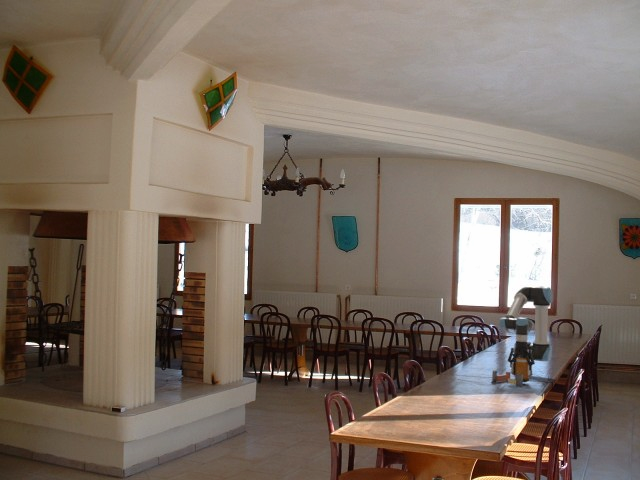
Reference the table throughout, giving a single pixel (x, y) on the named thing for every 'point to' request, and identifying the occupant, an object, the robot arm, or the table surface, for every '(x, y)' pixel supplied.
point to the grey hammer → (517, 380)
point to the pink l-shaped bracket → (503, 377)
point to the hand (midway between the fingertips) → (520, 373)
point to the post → (494, 376)
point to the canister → (520, 366)
